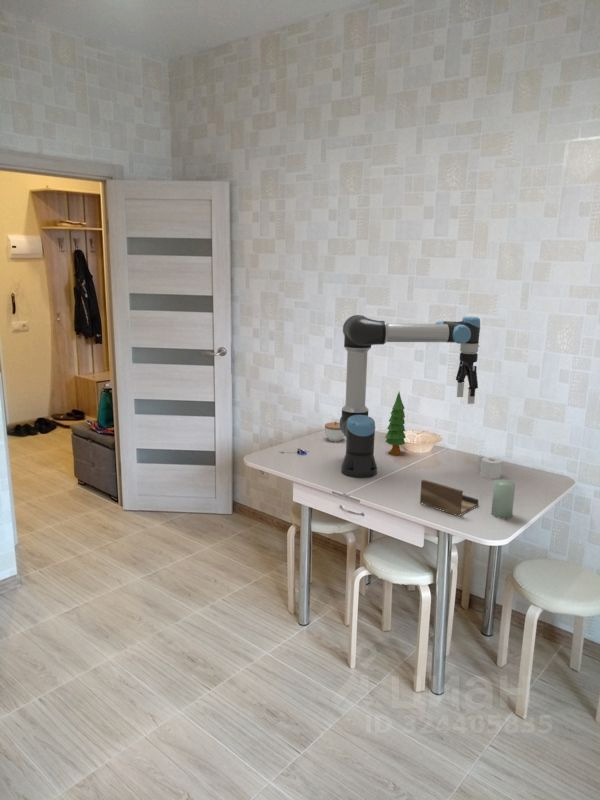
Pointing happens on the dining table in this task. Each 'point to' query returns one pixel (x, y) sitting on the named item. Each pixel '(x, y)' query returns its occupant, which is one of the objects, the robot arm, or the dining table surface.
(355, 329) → the robot arm
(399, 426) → the decorative tree
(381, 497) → the dining table surface
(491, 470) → the toilet paper
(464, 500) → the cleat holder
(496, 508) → the canister
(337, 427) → the lidded jar
